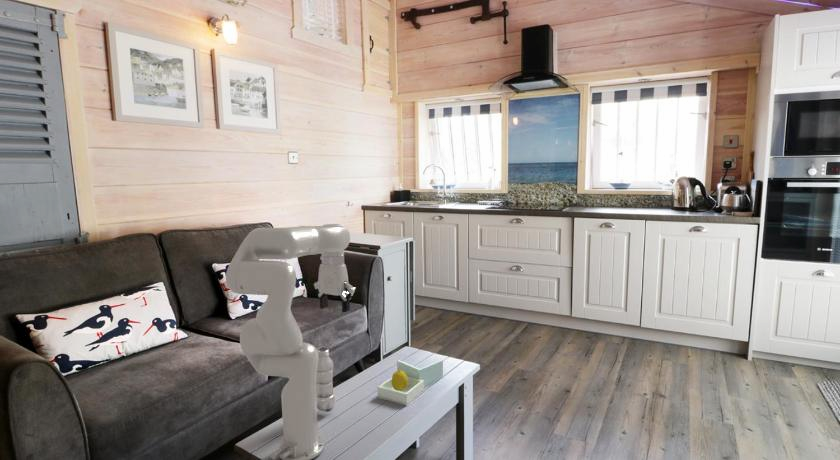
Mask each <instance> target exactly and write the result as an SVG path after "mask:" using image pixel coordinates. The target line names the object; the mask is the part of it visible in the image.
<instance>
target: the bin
mask: <svg viewBox="0 0 840 460" xmlns="http://www.w3.org/2000/svg"><path fill="white" fill-rule="evenodd" d="M407 379H408V383H407V387H406V388H405V389H404V390H403V391H397V390H395V389H394V388H393V386H392V376H391V377H390V378H388V379H387V380H385V381H384V382H383V383H381V384H380V385H378V386H377V398H378V399H381V400H385V401H387V402H392V403H396V404H399V405H402V406H406V407H407V406H408V405H409V406H410V404H412V402H413V401H415V400H416V399H417V398H418V397H419V396H420V395H422V394H423V393H424V392H425V387H424V380H419V379H415V378H411V377H407Z"/></svg>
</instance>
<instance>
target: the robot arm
mask: <svg viewBox="0 0 840 460" xmlns="http://www.w3.org/2000/svg"><path fill="white" fill-rule="evenodd" d="M350 242H351V233H350V231H349V229H348V228H347V227H346V226H343V225H342V224H340V223H327V224H323V225H314V226H313V225H312V226H311V225H301V226H299V225H298V226H289V227H257V228H254V229H253V230H251V231H250V232H249V233H248V234H247V235H246V237H245V238H244V239H243V241H242V242H241V244H240V245H239V246H238V247H239V248H238V249H237V251H236V252H235V255H234V256H233V257H232V260H231V261H230V263H229V265H228V268H227V270H226V273H225V284H226V287H227V288H228V289H229V291H230V292H232V293H234V294H238V295H257V296H267V298H266V300H265V301H264V302H263V303H262V304H261V305H260V307H259V309H258V310H257V312H256V315H255V316H256V317H254V318H251V319H249V320H247V321H246V322H245V323H244V324H243V325H242V328H241V330H240V334H239V343H240V349H241V351H242V352H243V354H244V355H245V357H246V358H247V360H248V362H250V364H251V366H252V367H253V368H254V369H255V371H256V372H257V373H258V374H259V375H263V376H270V377H282V378H287V379H288V381H287V382H286V384H285V385H284V386H283V388H282V390H281V394H280V395H281V396H280V398H281V399H280V400H281V401H280V402H281V412H282V413H281V414H282V416H281V417H282V433H283V437H282V438H283V439H281V440H280V445H279V446H278V448H277V449H275V450H273V451H272V452H270V454H269V455H270V458H271V459H272V460H277V459H278V457H279V458H280V459H281V460H312V459H314V458H316V457H318V456H319V455H320V454H321V453H322V452H323V451H324V447H325V446H324V445H325V442H324V440H323V438H322V437H321V436H319V432H318V431H319V430H318V427H319V426H318V409H317V402H316V372H317V364H318V351H317V350H318V348H316V346H315V345H313V344H311V343H308V342H303V341H304V340H303V334H302V331H301V329H300V327H299V325H298V323H297V321H296V319H295V317H294V315H293V312H292V310H291V309H292V307H291V306H292V302H293V298H294V294H295V293H294V292H295V290H296V284H297V273H296V269H295V267H293V265H291V264H290V263H288V262H285V261H284V260H286V261H287V260H291V259H296V258H300V257H304V256H311V255H312V256H313V255H314V256H315V255H319V254H320V255H321V256H319V258H320V260H321V263H320V264H319V267H318V278H317V279H318V280H317V281H316V282H314V283H313V286H314V289H315V292H316V294H317V296H318V298H319V306H320V307H319V309H322V310H323V309H326V308H328V305H329V303H328V301H329V299H328V295H331V296H340V298H341V299H342V301H341V312H342V313H347V312H350V309H351V308H350V307H351V305H350V301H351V299H352V297H353V296H354V293H355V292H356V287H354V286H353V285H351V284H350V282H349V275H348V268H347V265H346V264H345V250H346V249H347V248H348V247H349V244H350ZM282 260H283V261H282Z"/></svg>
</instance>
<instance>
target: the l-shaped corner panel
mask: <svg viewBox="0 0 840 460" xmlns="http://www.w3.org/2000/svg"><path fill="white" fill-rule="evenodd" d="M443 361H444V360H442V359H440V360H437V361H435V362H432V363H430V364H428V365H425V366H423V367H421V368H419V367H416V366H415V365H412V364H410V363H408V362H405V361H403V360H400V359H398V360H397V361H396V367H397V368H396V371H398V370H401V371H403V372H405V374H406V376H407V377H411V378H415V379H419V380H424V388H427V387H428V386H430V385H432V384H434V383H435V382H437V381H440V380H441V379H443V378H444V371H443V370H444V367H443V366H444V365H443V364H444V362H443Z"/></svg>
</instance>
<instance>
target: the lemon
mask: <svg viewBox="0 0 840 460" xmlns="http://www.w3.org/2000/svg"><path fill="white" fill-rule="evenodd" d="M391 377H392V386H393V388H394V389H395V390H397V391H403V390H404V389H405V388H406V387H407V383H408V379H407V376H406V374H405V372H403V371H401V370H398V371H397V370H396V371H394V373H393V374H392V376H391Z"/></svg>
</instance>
